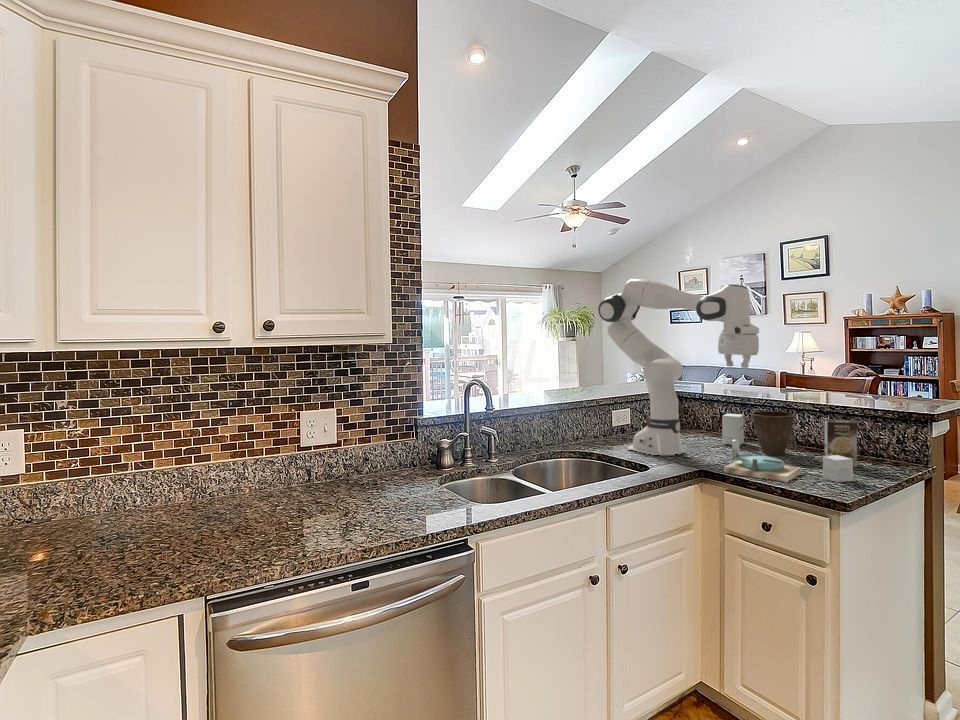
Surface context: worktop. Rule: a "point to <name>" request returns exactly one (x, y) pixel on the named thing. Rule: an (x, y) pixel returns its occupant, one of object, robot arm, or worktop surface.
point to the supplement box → (732, 428)
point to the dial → (762, 461)
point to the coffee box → (841, 439)
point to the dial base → (778, 475)
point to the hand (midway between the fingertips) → (737, 367)
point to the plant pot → (773, 430)
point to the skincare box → (838, 468)
